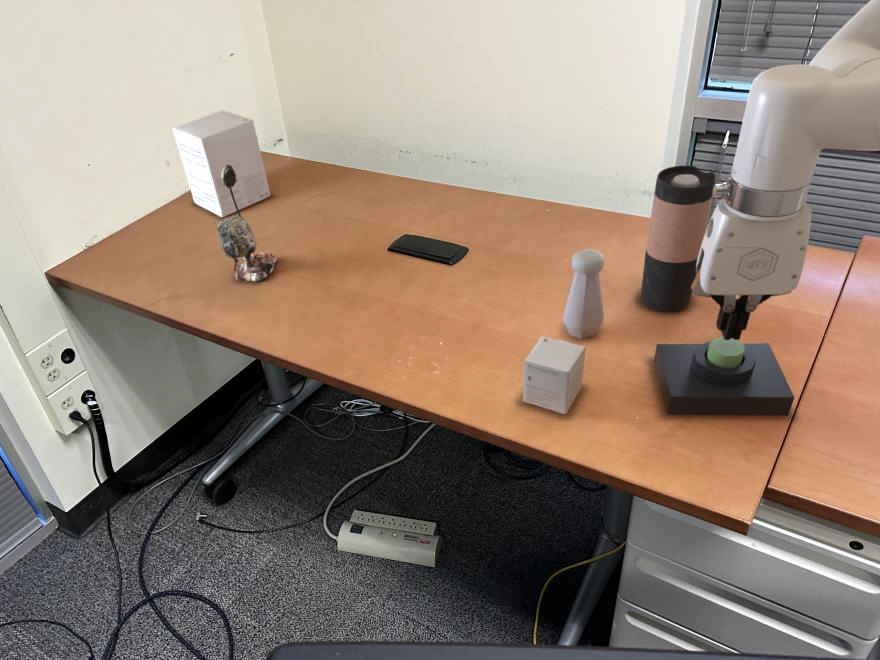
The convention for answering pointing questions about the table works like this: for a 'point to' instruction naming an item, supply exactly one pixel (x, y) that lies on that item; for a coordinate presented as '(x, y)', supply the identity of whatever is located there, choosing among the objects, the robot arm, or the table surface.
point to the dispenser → (721, 382)
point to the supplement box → (222, 161)
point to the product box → (553, 374)
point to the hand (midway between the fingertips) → (729, 333)
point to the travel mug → (675, 236)
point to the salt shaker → (585, 295)
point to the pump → (725, 352)
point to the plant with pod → (242, 240)
